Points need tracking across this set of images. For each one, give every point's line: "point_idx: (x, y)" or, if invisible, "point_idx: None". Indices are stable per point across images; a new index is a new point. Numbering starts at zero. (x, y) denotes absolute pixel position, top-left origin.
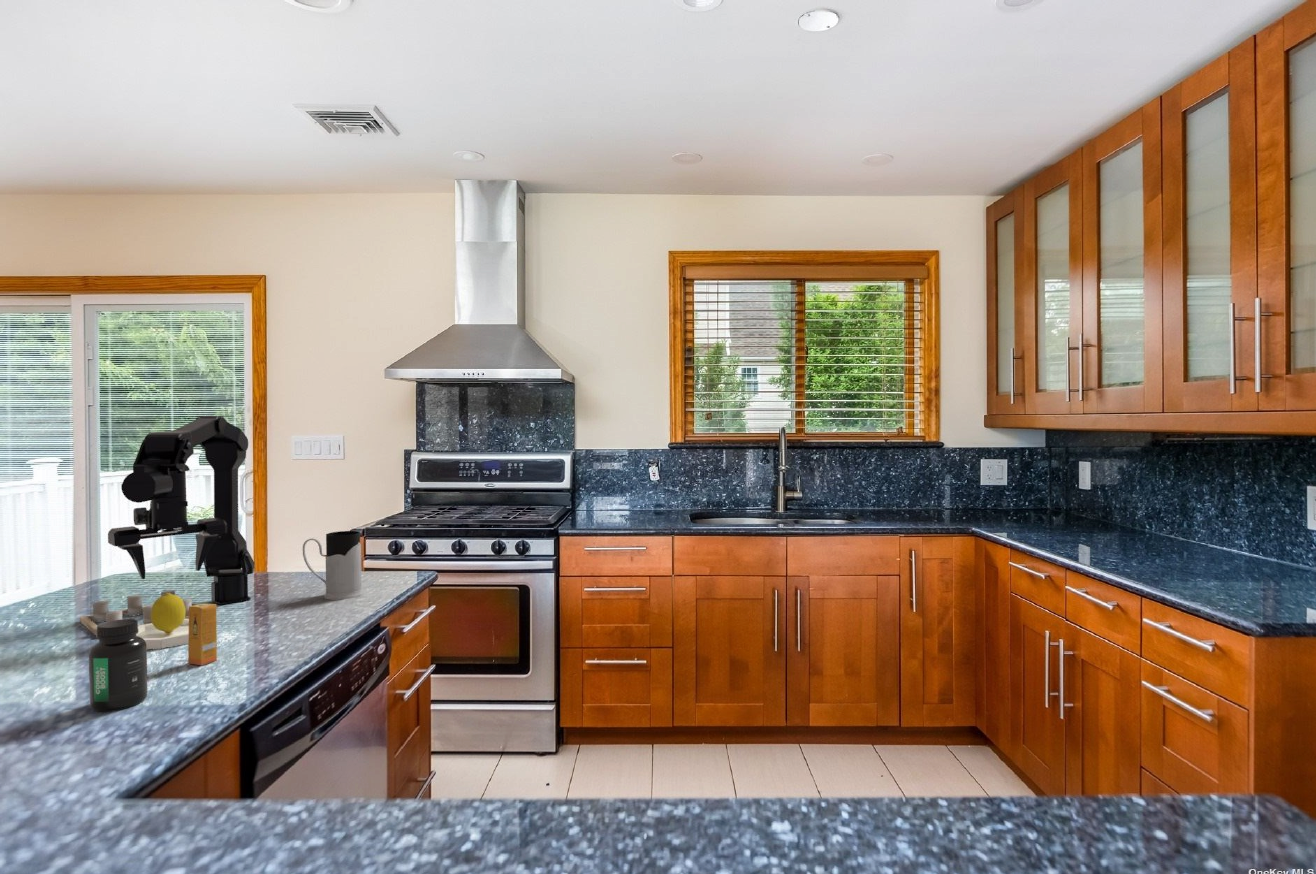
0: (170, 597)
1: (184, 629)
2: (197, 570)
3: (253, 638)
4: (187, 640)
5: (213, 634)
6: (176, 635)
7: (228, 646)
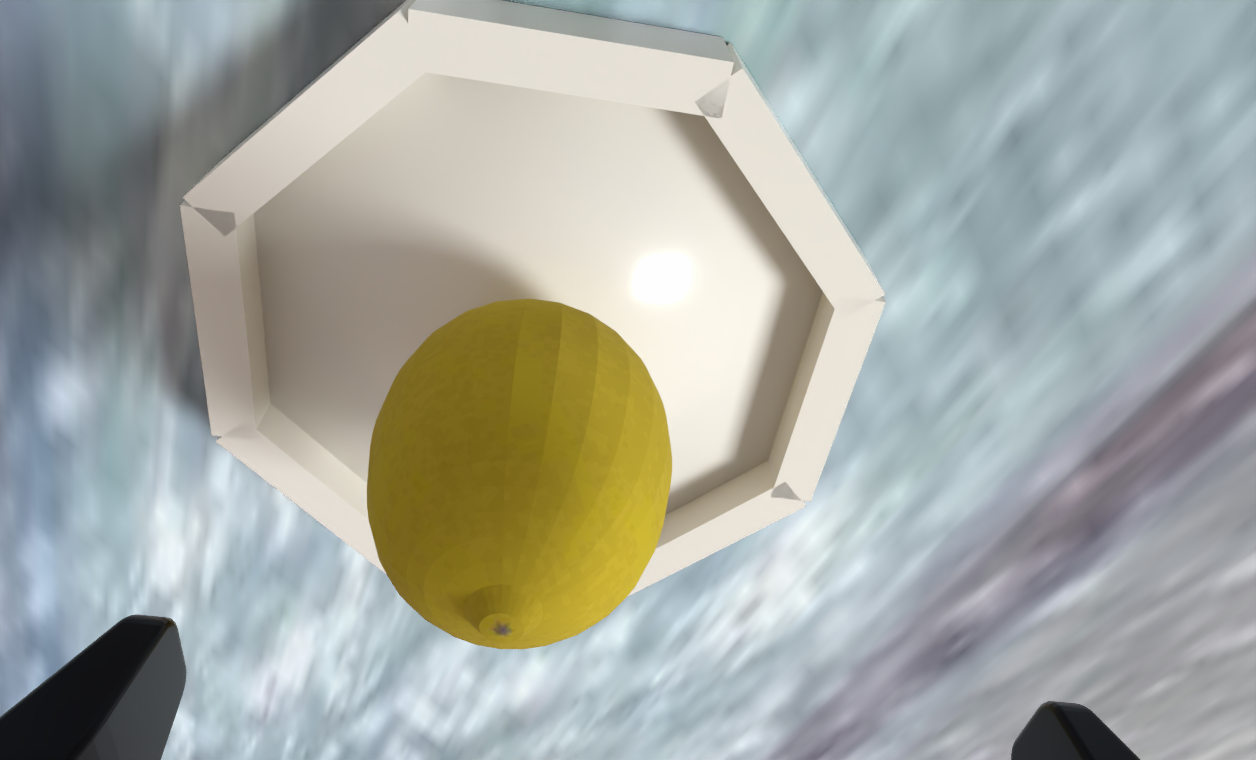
0: (506, 647)
1: (673, 320)
2: (1013, 750)
3: (825, 699)
4: None
5: None
6: None
7: (670, 718)
